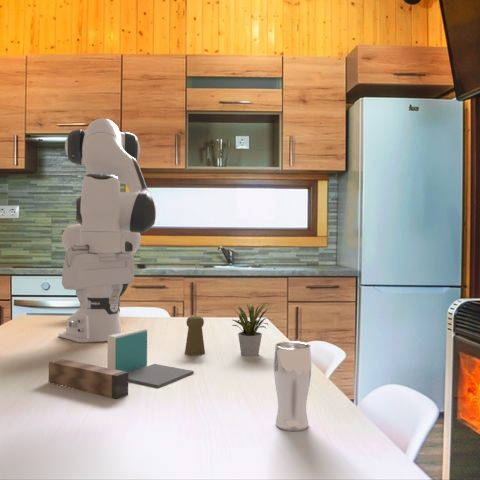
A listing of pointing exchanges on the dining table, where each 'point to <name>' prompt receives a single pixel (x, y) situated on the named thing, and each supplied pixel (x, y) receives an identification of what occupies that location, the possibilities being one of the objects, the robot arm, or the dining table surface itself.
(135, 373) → the mat
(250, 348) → the house plant
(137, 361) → the tile
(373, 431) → the dining table surface
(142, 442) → the dining table surface
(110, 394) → the wooden handle bar
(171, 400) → the dining table surface
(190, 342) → the olive tapered upright piece
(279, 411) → the beer glass
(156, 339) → the dining table surface
